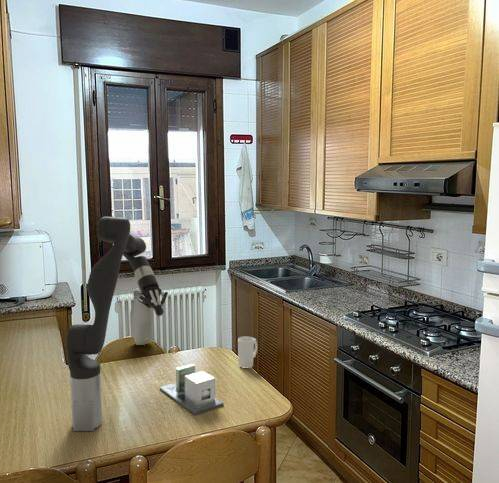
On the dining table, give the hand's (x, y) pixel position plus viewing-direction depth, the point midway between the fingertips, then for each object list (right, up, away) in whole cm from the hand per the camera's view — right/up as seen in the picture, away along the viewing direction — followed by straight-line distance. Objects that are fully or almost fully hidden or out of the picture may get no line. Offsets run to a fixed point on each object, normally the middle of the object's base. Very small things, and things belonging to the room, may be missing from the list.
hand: (160, 314), depth 189 cm
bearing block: (+14, -28, -14) cm, 34 cm away
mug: (+35, -24, +17) cm, 46 cm away
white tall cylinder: (-16, -21, +41) cm, 49 cm away
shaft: (+15, -27, -17) cm, 35 cm away
